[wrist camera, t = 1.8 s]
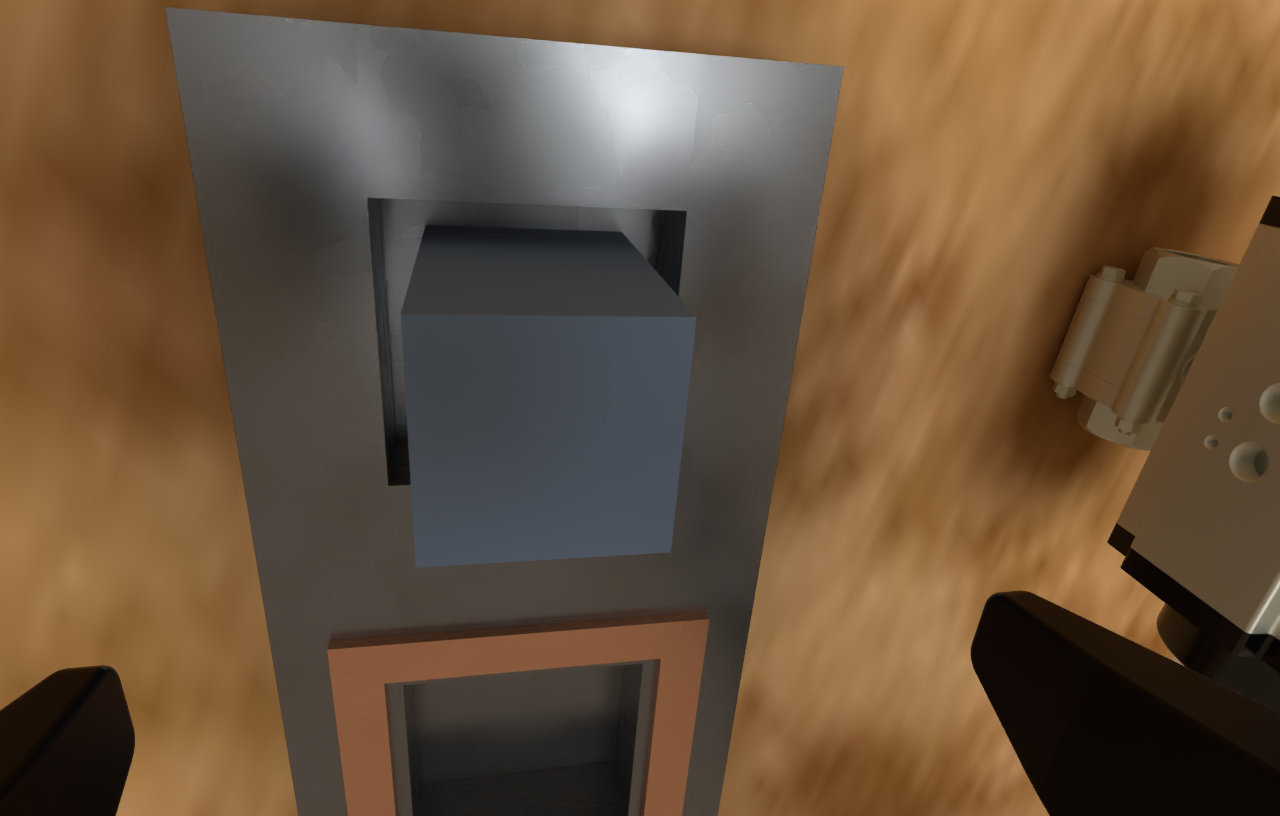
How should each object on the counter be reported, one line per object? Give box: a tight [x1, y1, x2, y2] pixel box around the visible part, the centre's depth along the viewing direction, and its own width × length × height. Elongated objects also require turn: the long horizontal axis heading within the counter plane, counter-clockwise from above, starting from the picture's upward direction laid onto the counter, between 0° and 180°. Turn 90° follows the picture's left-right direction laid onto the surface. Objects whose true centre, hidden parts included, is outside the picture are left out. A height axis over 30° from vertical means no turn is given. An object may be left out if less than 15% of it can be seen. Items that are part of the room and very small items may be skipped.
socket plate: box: [165, 7, 844, 816], centre depth 19 cm, size 24×12×3 cm, turn 176°
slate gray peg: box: [401, 225, 696, 568], centre depth 15 cm, size 4×4×6 cm
